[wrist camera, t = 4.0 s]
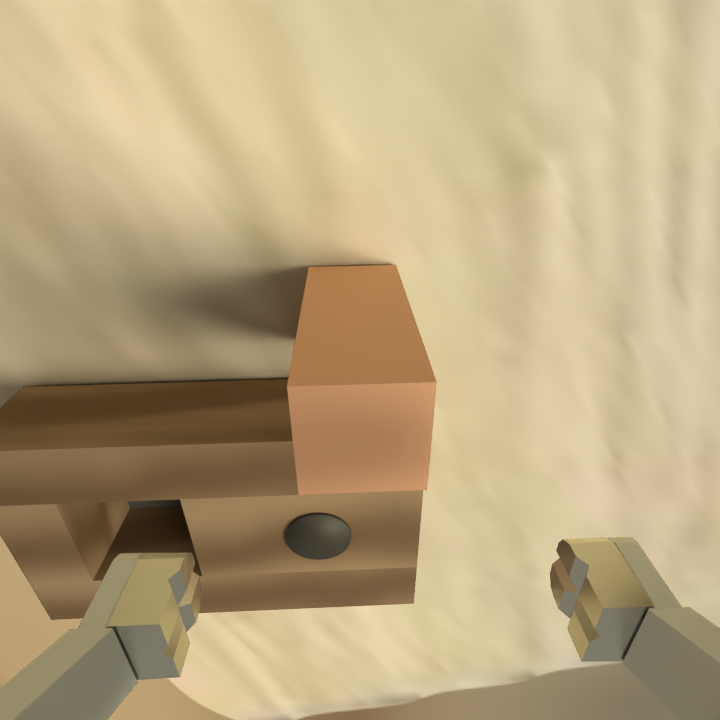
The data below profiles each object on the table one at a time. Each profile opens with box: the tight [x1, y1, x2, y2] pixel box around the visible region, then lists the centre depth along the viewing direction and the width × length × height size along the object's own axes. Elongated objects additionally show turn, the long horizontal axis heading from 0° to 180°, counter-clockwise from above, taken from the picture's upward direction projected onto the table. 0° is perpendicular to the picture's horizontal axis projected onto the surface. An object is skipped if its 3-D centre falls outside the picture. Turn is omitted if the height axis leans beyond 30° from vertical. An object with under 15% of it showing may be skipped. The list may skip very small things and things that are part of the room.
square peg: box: [287, 265, 437, 495], centre depth 17 cm, size 4×4×10 cm
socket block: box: [0, 379, 423, 620], centre depth 24 cm, size 12×20×5 cm, turn 91°
